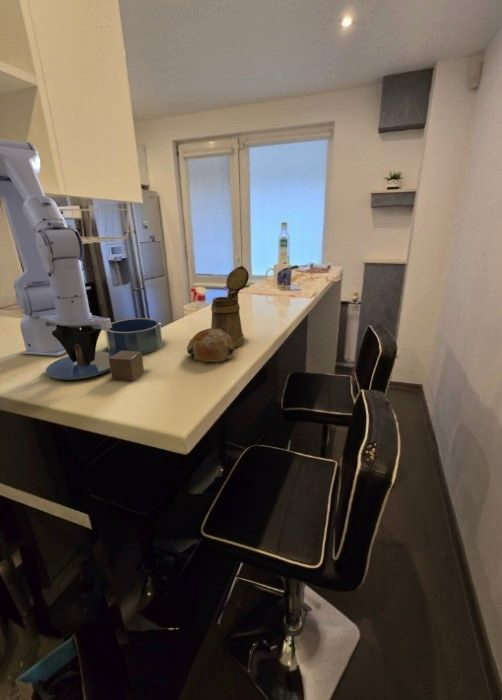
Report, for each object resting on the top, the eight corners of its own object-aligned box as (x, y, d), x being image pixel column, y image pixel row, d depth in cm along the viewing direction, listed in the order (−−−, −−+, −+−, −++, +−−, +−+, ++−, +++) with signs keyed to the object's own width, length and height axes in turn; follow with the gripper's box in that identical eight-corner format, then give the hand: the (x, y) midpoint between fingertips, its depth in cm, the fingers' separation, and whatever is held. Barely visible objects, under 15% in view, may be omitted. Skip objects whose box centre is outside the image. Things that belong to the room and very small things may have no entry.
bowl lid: (30, 379, 63) (23, 354, 62) (79, 354, 76) (75, 333, 74) (91, 385, 60) (86, 360, 59) (132, 358, 73) (128, 336, 71)
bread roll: (219, 379, 70) (233, 349, 67) (177, 358, 71) (189, 326, 67) (230, 362, 79) (244, 335, 76) (193, 343, 80) (205, 315, 76)
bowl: (97, 354, 76) (93, 331, 74) (125, 337, 87) (122, 317, 85) (148, 357, 74) (145, 334, 72) (170, 339, 85) (168, 319, 83)
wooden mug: (258, 334, 89) (258, 266, 82) (233, 350, 77) (231, 272, 71) (229, 330, 92) (227, 265, 86) (202, 344, 81) (197, 270, 75)
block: (112, 379, 63) (108, 358, 61) (124, 370, 67) (121, 350, 65) (133, 381, 62) (130, 359, 61) (144, 371, 66) (141, 351, 65)
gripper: (116, 292, 65) (125, 356, 70) (54, 290, 68) (67, 351, 73) (92, 300, 58) (105, 369, 63) (25, 297, 61) (42, 363, 66)
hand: (83, 360), depth 68 cm, fingers open, 3 cm apart
